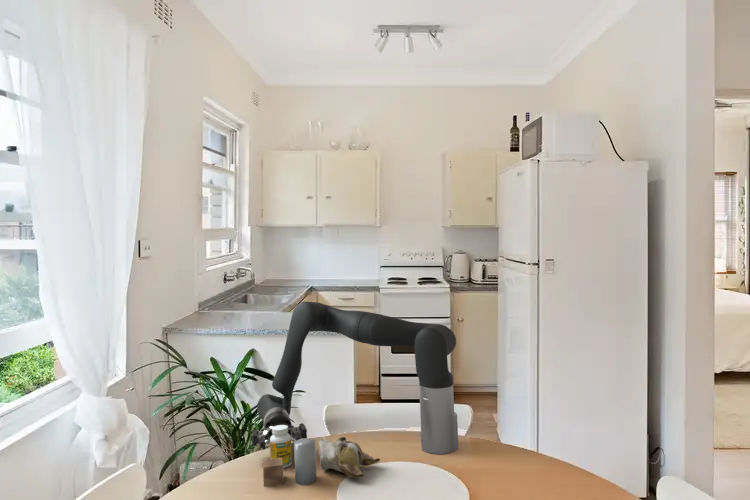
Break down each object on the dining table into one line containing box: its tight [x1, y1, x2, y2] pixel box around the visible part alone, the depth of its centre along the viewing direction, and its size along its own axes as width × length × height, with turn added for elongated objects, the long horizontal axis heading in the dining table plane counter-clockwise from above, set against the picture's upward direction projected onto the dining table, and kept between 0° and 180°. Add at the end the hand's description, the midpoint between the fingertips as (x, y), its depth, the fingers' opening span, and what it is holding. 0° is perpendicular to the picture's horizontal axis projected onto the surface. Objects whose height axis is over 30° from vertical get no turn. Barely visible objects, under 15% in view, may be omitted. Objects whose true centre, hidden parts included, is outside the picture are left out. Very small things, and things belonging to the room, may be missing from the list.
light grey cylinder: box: [293, 437, 317, 486], centre depth 118 cm, size 5×5×9 cm
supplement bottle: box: [269, 425, 293, 469], centre depth 128 cm, size 5×5×10 cm
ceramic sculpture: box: [318, 436, 381, 479], centre depth 122 cm, size 11×9×15 cm
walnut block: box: [262, 458, 284, 488], centre depth 118 cm, size 4×4×4 cm
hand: (281, 443), depth 126 cm, fingers open, 8 cm apart
